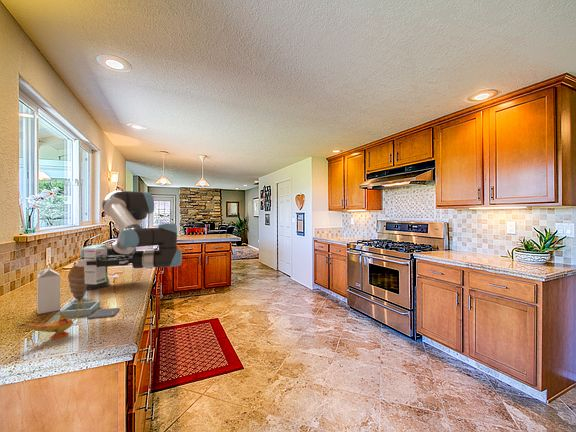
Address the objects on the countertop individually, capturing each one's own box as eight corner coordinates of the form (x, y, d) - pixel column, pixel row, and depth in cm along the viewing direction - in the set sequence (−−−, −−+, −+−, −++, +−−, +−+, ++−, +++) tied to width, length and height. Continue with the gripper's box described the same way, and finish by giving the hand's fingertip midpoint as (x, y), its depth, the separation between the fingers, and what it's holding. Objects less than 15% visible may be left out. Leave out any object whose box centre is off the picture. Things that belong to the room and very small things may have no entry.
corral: (71, 308, 119) (71, 303, 119) (100, 306, 122) (100, 301, 122) (59, 317, 109) (59, 311, 109) (90, 315, 112) (90, 309, 112)
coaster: (95, 311, 117) (95, 309, 117) (119, 309, 120) (119, 307, 120) (87, 318, 108) (87, 317, 108) (113, 316, 111) (113, 315, 111)
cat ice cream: (63, 300, 130) (63, 263, 130) (80, 296, 137) (80, 260, 137) (77, 302, 127) (77, 264, 127) (93, 297, 135) (93, 261, 135)
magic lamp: (14, 343, 87) (14, 309, 87) (82, 326, 101) (83, 296, 101) (17, 350, 83) (17, 314, 83) (88, 331, 97) (88, 300, 97)
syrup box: (95, 284, 111) (95, 249, 111) (83, 283, 112) (83, 248, 112) (107, 281, 116) (107, 247, 116) (96, 280, 117) (96, 246, 117)
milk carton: (58, 306, 122) (58, 264, 122) (60, 310, 117) (60, 266, 117) (36, 310, 117) (36, 266, 117) (37, 314, 112) (37, 268, 112)
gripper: (138, 272, 110) (70, 275, 103) (148, 263, 129) (92, 266, 122) (138, 253, 110) (70, 256, 103) (148, 247, 129) (92, 249, 122)
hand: (82, 261), depth 113 cm, fingers closed on syrup box, 7 cm apart
